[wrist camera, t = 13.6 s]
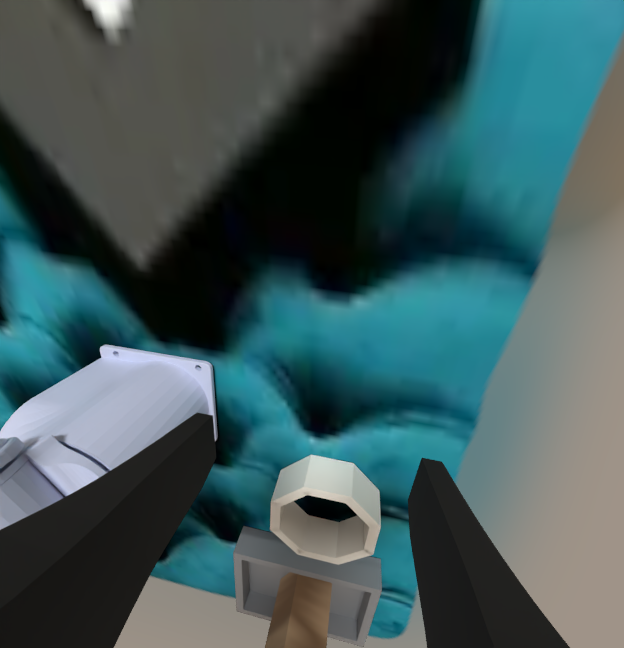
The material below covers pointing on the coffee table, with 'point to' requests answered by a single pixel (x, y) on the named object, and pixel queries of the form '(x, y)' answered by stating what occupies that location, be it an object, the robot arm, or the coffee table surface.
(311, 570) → the tray
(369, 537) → the white octagonal ring
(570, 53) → the coffee table surface
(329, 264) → the coffee table surface
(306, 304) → the coffee table surface
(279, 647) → the walnut peg
